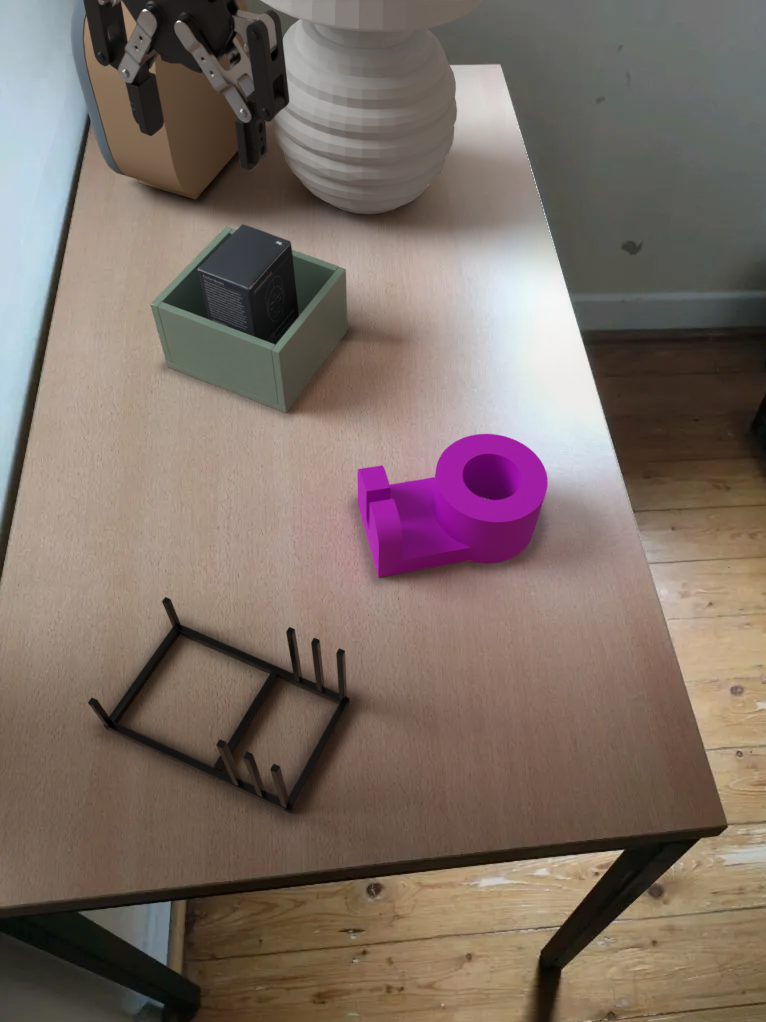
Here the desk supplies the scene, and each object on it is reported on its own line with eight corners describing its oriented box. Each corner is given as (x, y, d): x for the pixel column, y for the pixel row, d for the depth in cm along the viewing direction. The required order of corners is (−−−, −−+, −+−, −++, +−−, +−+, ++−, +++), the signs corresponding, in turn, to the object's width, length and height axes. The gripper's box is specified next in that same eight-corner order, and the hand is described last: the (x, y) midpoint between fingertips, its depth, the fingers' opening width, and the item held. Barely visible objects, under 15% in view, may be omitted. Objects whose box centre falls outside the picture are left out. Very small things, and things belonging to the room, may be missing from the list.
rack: (105, 728, 62) (68, 679, 54) (177, 626, 67) (153, 567, 59) (290, 814, 60) (279, 774, 52) (350, 702, 65) (348, 651, 57)
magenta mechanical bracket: (516, 471, 79) (527, 426, 74) (549, 552, 74) (563, 511, 69) (356, 497, 76) (355, 452, 70) (380, 584, 71) (381, 543, 66)
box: (254, 311, 86) (242, 221, 77) (301, 330, 85) (294, 241, 76) (214, 356, 82) (195, 267, 73) (262, 376, 81) (249, 288, 72)
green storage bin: (167, 366, 82) (149, 303, 75) (236, 289, 89) (226, 225, 82) (286, 413, 80) (278, 352, 73) (347, 330, 87) (346, 268, 80)
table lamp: (252, 246, 93) (185, -241, 59) (269, 124, 106) (223, -334, 71) (469, 258, 95) (527, -203, 61) (460, 137, 108) (504, -299, 74)
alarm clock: (193, 115, 105) (156, -91, 87) (261, 133, 104) (238, -70, 86) (111, 201, 95) (49, -13, 76) (185, 222, 94) (141, 12, 75)
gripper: (15, -138, 47) (92, 142, 60) (234, -70, 45) (261, 202, 59) (93, -173, 50) (148, 98, 64) (297, -112, 49) (309, 153, 63)
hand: (202, 147), depth 61 cm, fingers open, 8 cm apart
